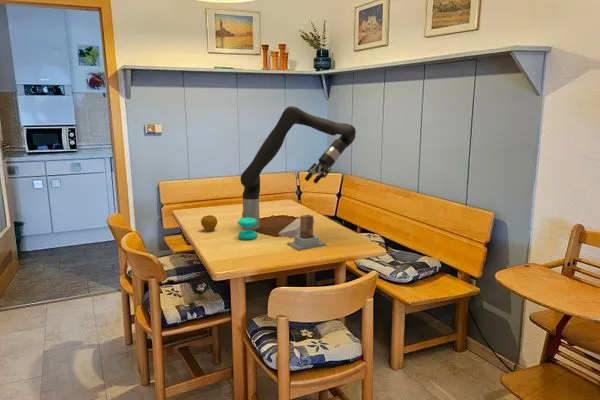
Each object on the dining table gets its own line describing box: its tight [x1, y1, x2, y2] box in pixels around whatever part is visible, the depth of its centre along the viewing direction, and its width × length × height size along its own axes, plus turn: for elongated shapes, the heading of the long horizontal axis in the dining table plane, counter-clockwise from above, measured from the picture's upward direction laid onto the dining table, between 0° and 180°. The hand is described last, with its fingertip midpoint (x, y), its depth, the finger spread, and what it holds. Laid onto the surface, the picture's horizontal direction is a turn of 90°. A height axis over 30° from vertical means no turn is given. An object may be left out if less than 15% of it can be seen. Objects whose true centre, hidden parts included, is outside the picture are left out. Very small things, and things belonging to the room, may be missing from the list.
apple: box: [200, 214, 218, 232], centre depth 254 cm, size 9×9×9 cm
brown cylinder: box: [299, 214, 314, 239], centre depth 227 cm, size 5×4×14 cm
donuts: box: [237, 217, 258, 241], centre depth 240 cm, size 10×10×10 cm
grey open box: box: [287, 234, 327, 251], centre depth 228 cm, size 16×11×4 cm
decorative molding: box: [278, 214, 315, 238], centre depth 259 cm, size 34×5×10 cm
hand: (310, 181), depth 231 cm, fingers open, 8 cm apart
